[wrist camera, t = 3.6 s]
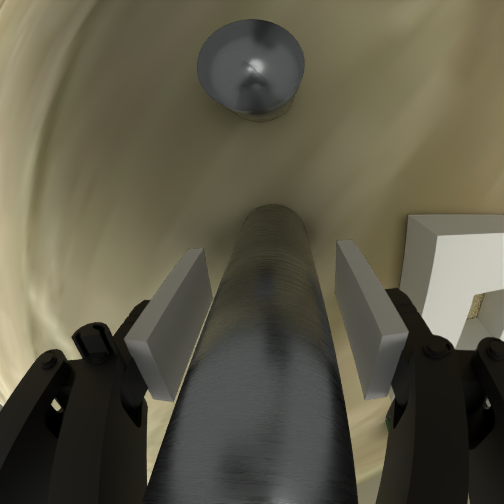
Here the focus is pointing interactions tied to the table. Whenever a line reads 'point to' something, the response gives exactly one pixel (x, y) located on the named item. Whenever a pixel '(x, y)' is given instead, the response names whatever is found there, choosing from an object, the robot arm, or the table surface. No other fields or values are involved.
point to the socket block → (456, 275)
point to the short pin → (252, 68)
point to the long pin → (261, 385)
